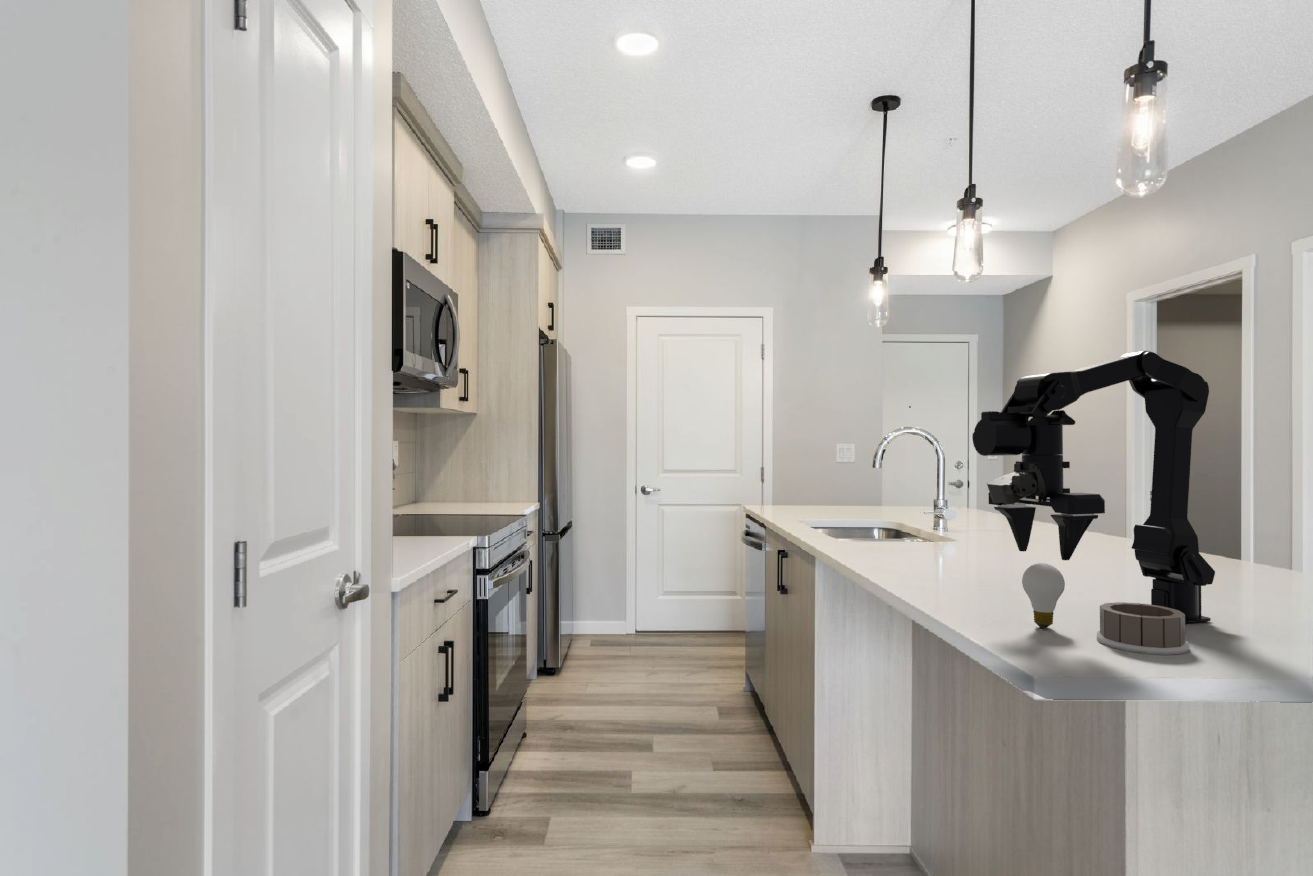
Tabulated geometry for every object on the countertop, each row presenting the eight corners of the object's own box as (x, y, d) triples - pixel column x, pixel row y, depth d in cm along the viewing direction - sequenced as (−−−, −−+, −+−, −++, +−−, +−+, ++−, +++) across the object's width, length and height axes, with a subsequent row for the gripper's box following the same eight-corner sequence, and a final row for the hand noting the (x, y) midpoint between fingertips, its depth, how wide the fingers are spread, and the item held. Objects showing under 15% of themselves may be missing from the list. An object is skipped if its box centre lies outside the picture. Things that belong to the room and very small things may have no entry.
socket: (1141, 631, 113) (1140, 600, 113) (1209, 651, 102) (1208, 616, 102) (1079, 636, 110) (1078, 603, 111) (1142, 657, 100) (1141, 621, 100)
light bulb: (1070, 633, 112) (1070, 567, 112) (1028, 631, 113) (1028, 566, 113) (1057, 624, 118) (1057, 560, 118) (1017, 622, 119) (1017, 559, 119)
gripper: (959, 454, 123) (960, 549, 123) (1040, 457, 105) (1041, 568, 105) (1018, 453, 125) (1019, 546, 125) (1107, 455, 107) (1108, 564, 107)
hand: (1043, 555), depth 116 cm, fingers open, 9 cm apart
